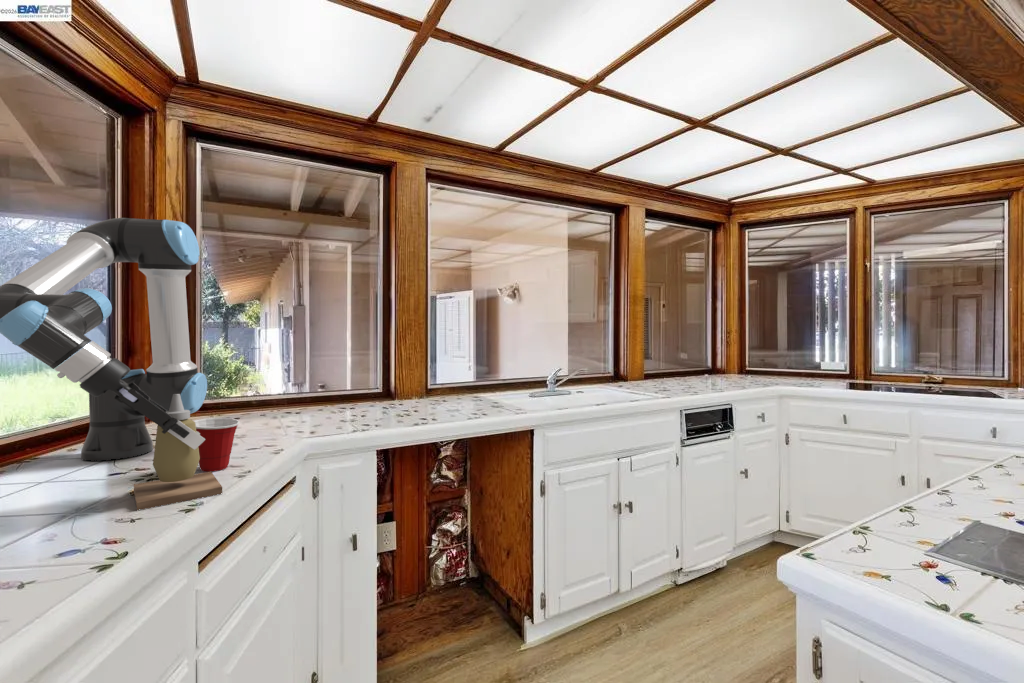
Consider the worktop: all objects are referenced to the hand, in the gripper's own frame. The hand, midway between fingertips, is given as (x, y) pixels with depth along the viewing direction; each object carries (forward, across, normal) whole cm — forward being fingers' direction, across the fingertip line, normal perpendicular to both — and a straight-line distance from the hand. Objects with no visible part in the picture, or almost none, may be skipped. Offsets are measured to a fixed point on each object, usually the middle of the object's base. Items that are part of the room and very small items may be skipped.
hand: (197, 441), depth 100 cm
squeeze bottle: (+3, 0, -8) cm, 8 cm away
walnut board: (+5, 0, -10) cm, 11 cm away
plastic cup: (+11, -15, -4) cm, 19 cm away
